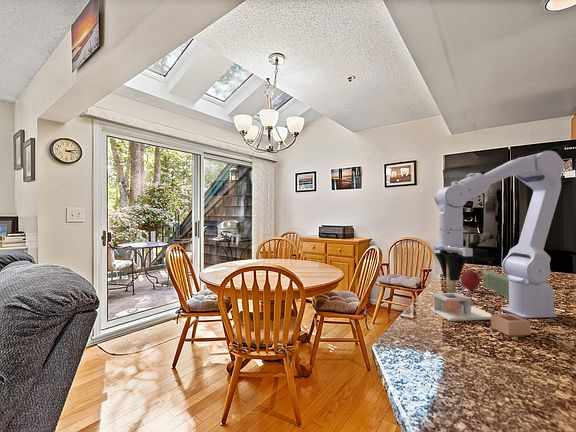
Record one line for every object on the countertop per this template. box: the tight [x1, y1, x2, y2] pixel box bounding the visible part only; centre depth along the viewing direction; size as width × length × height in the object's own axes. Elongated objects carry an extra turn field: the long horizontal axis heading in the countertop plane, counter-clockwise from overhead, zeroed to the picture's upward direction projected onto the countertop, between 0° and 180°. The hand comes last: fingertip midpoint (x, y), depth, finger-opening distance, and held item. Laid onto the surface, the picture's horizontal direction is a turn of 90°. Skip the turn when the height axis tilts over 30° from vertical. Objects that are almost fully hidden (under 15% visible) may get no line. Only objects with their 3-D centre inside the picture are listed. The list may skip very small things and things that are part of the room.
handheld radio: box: [481, 269, 509, 300], centre depth 100 cm, size 7×3×25 cm
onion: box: [460, 267, 481, 291], centre depth 106 cm, size 6×6×8 cm
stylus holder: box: [490, 313, 531, 337], centre depth 69 cm, size 5×5×3 cm
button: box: [444, 301, 460, 309], centre depth 80 cm, size 3×3×2 cm
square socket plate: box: [429, 292, 493, 322], centre depth 81 cm, size 13×9×5 cm
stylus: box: [446, 261, 457, 293], centre depth 80 cm, size 2×2×8 cm
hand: (451, 279), depth 80 cm, fingers closed on stylus, 2 cm apart
